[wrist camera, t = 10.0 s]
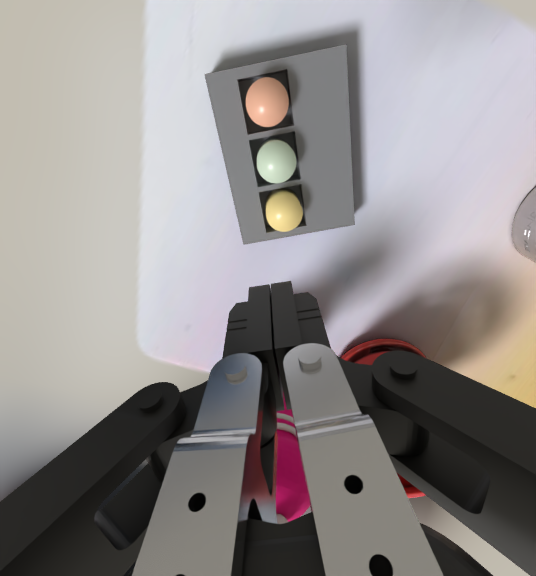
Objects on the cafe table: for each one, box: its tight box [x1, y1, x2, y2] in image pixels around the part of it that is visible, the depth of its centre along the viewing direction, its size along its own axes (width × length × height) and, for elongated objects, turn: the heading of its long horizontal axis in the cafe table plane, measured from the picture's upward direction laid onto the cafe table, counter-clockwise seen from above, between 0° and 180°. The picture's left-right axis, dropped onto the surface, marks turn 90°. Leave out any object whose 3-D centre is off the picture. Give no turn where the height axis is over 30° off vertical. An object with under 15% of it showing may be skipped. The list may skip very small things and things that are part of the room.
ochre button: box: [265, 188, 303, 232], centre depth 28 cm, size 3×3×3 cm
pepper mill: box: [276, 393, 310, 524], centre depth 28 cm, size 7×7×20 cm
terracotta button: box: [246, 77, 289, 127], centre depth 24 cm, size 3×3×3 cm
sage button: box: [257, 138, 296, 183], centre depth 26 cm, size 3×3×3 cm
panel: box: [205, 44, 355, 244], centre depth 26 cm, size 10×13×2 cm
